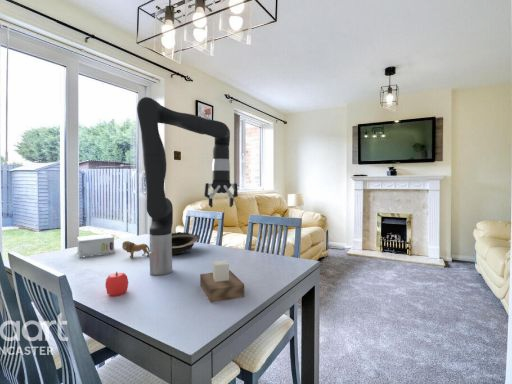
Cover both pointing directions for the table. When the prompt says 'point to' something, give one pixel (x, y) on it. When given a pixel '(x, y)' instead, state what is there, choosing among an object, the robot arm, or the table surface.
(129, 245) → the lion figurine
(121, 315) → the table surface
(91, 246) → the supplement box
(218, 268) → the cream block
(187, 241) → the dark brown round bowl
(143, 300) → the table surface
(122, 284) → the apple
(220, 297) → the walnut plinth
